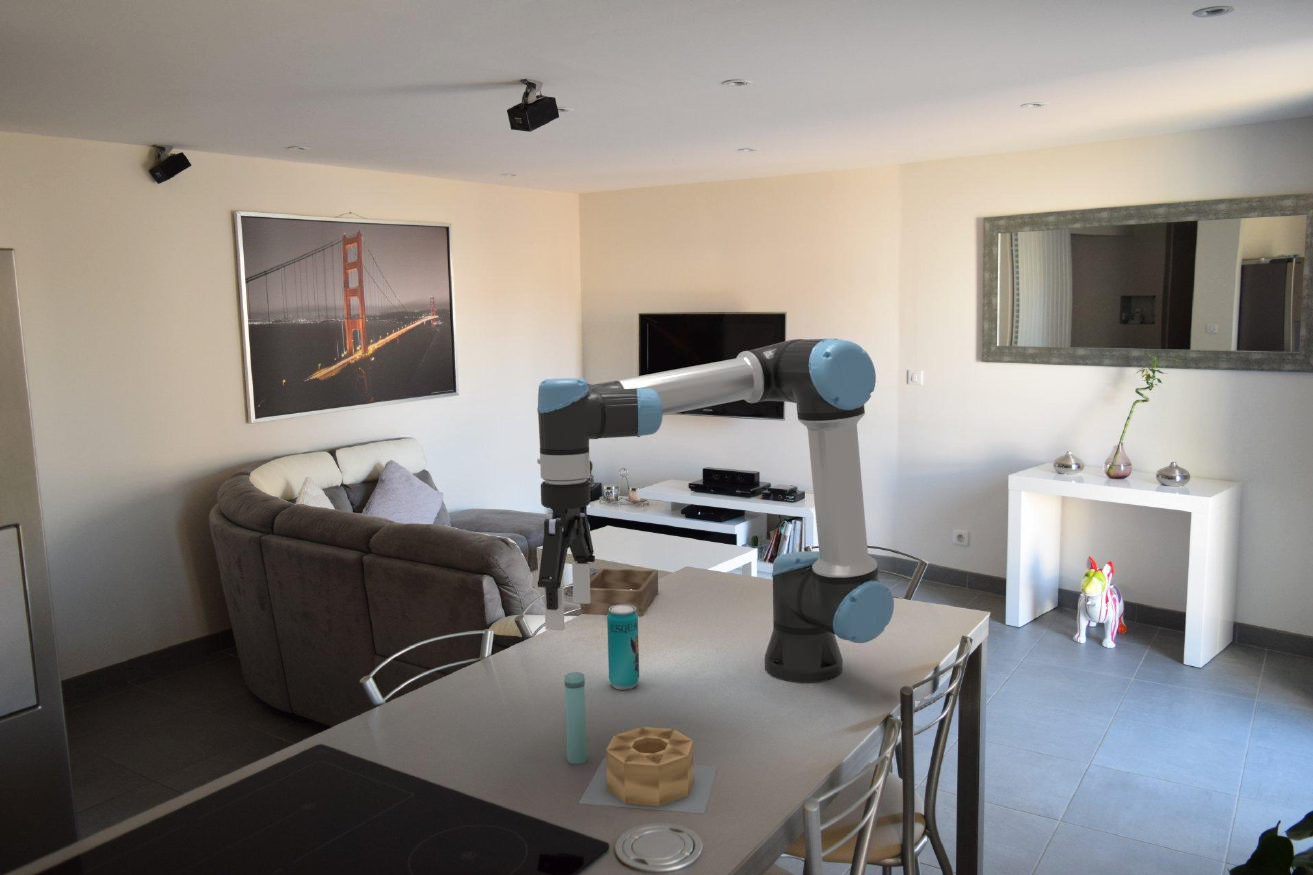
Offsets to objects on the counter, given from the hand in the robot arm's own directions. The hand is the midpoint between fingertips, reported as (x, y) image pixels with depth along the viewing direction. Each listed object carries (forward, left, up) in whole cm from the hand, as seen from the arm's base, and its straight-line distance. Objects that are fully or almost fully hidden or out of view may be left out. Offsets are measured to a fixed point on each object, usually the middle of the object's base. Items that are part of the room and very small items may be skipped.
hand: (569, 615), depth 144 cm
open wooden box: (+12, -82, -23) cm, 86 cm away
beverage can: (-1, -30, -23) cm, 38 cm away
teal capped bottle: (-1, +1, -23) cm, 23 cm away
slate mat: (-14, +7, -23) cm, 28 cm away
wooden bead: (-14, +7, -23) cm, 28 cm away
